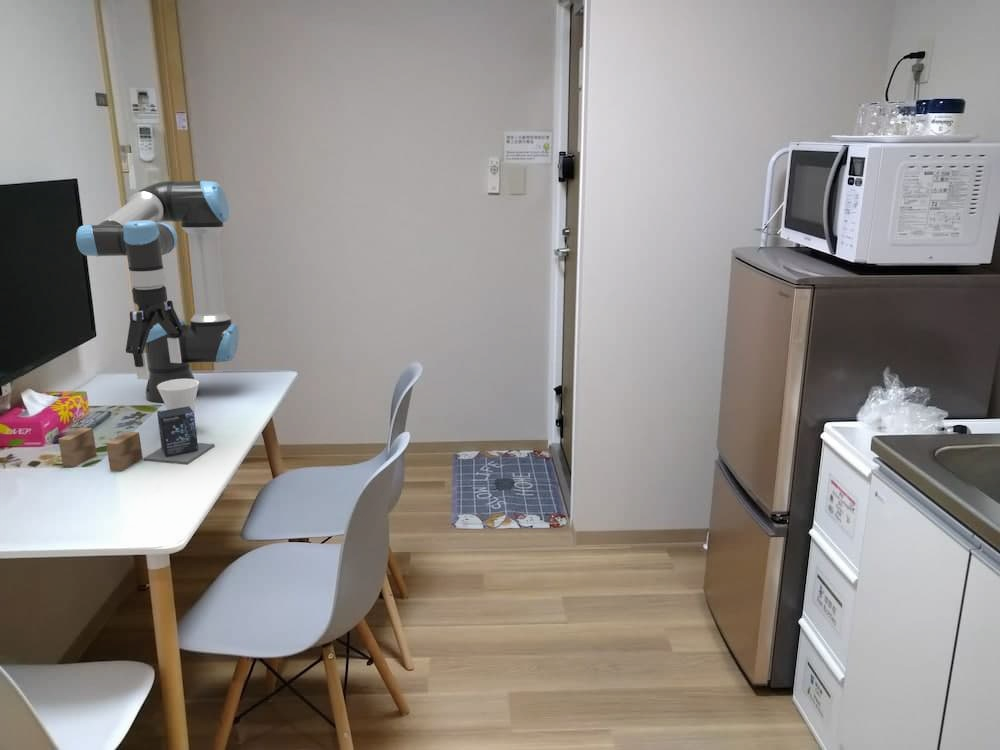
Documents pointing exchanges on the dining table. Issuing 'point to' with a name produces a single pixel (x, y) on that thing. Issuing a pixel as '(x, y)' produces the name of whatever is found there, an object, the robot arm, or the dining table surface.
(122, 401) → the dining table surface
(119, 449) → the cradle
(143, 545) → the dining table surface
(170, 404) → the cup
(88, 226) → the robot arm
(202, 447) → the mat
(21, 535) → the dining table surface
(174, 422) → the box
